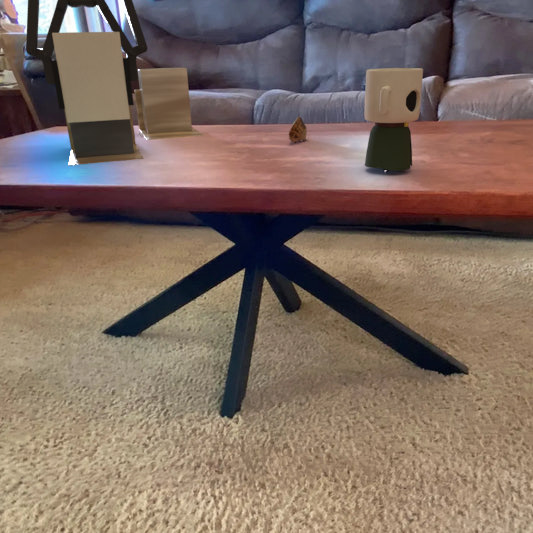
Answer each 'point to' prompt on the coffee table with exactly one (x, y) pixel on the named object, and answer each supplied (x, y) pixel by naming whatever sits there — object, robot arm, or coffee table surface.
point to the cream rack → (164, 104)
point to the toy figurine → (391, 115)
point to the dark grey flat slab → (102, 141)
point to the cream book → (92, 76)
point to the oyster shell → (298, 131)
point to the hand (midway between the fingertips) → (97, 106)
